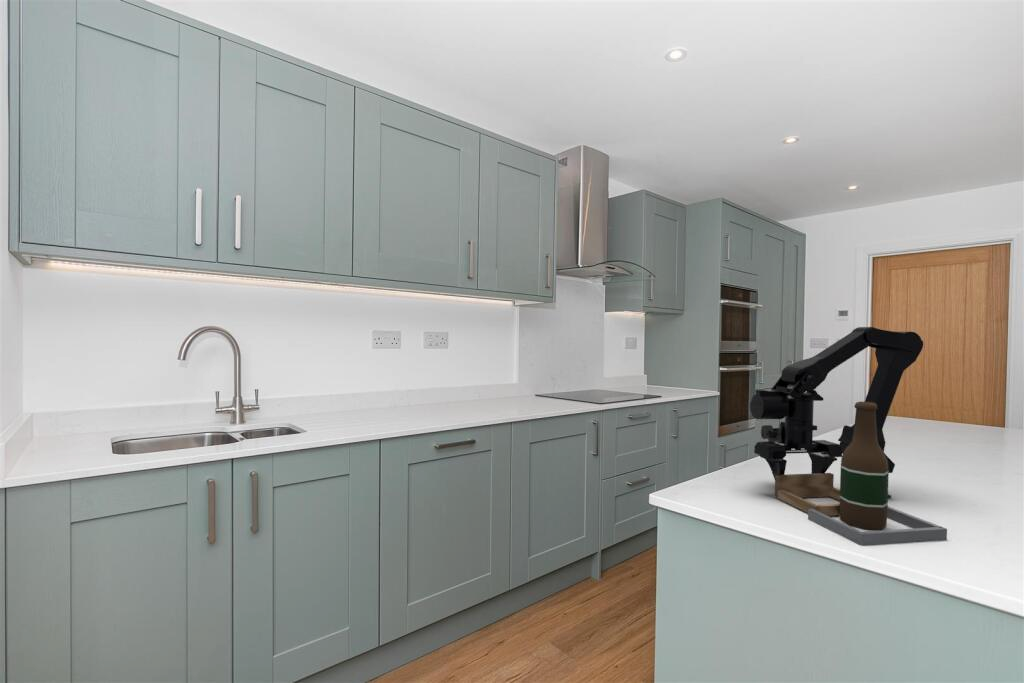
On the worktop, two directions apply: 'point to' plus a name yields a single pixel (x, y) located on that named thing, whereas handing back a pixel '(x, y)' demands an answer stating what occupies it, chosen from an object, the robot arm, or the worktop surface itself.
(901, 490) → the worktop surface
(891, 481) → the worktop surface
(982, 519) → the worktop surface
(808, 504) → the brown wooden frame
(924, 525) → the tray bay
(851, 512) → the beer bottle
